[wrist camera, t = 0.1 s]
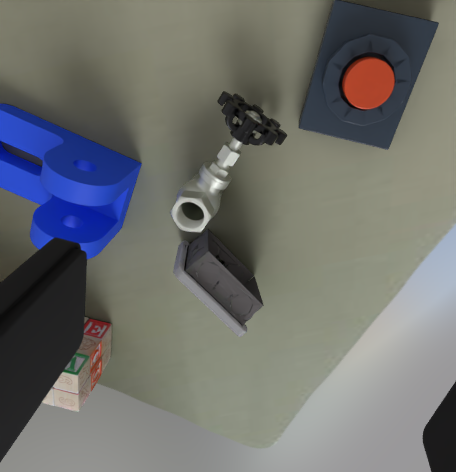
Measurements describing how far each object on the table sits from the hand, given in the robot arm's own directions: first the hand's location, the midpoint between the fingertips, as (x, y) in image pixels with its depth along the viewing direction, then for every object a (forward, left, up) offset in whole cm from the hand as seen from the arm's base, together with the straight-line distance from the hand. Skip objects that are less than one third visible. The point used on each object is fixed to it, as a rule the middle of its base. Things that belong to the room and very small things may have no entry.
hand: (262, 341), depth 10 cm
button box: (-4, +5, -31) cm, 32 cm away
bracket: (+11, -23, -31) cm, 40 cm away
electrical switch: (+17, -3, -31) cm, 36 cm away
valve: (+6, -5, -31) cm, 32 cm away
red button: (-4, +5, -27) cm, 28 cm away
